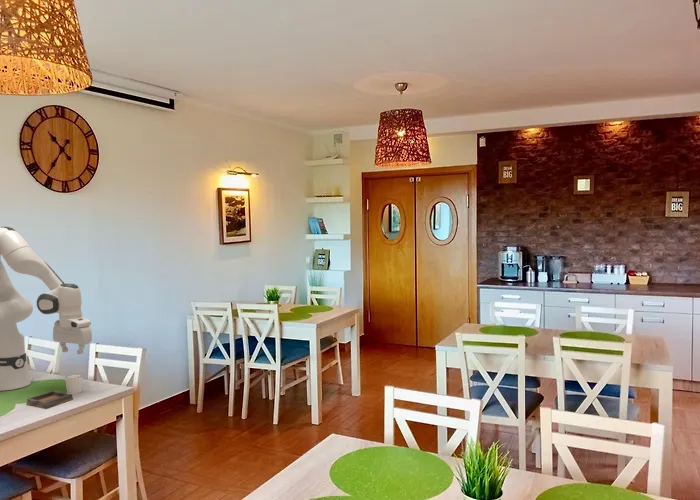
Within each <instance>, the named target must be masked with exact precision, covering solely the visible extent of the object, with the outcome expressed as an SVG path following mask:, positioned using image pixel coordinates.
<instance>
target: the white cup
mask: <svg viewBox="0 0 700 500" xmlns="http://www.w3.org/2000/svg"><path fill="white" fill-rule="evenodd" d="M64 380H65V388H66V393H69V394H72V395H76V393H77V394H80V393H82V391H83V390H82V389H83V374H79V373H78V374H77V373H75V374H70V375H66V376H65V377H64Z"/></svg>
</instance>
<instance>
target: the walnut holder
mask: <svg viewBox="0 0 700 500" xmlns="http://www.w3.org/2000/svg"><path fill="white" fill-rule="evenodd" d="M72 400H74V397H73V394H69V393H67V392H61V391H57V390H50V391H47V392H45V393H41V394H39V395H36V396H32V397H30V398H27V399H26V401H27V402H26V406H29V407H35V408H40V409H45V410H47V409H51V408H53V407H56V406H58V405H61V404H64V403H66V402H69V401H72Z"/></svg>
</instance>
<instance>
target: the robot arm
mask: <svg viewBox="0 0 700 500" xmlns="http://www.w3.org/2000/svg"><path fill="white" fill-rule="evenodd" d="M1 256H2V258H3V259H4V261H5V262H6V264H7V266H9V268H10V269H11V270H13V271H14V272H15V273H18V274H21V275H29V276H33V277H35V278H38V279H39V280H41V281H42V282H43V283H44V284H45V286H46V287H47V288H48V289H49V291H47V292H44V293H41V294H40V295H38V297H37V299H36V307H37V310H38V311H39V312H40V313H41V314H43V315H53V314H57V313H58V317H59V318H58V319H57V320H56V321H55V322H54V323H53V324H54V326H53V327H52V328H53V329H52V339H53V342H56V343H58V342H59V345H60V348H61V352H62V353H68V352H69V347H67V344H74V345H78V346H77V347H78V350H77V351H76V352H77V353H76V354H77V355H83V354H84V349H85V346H86V345H89V344H91V343H92V338H93V337H92V336H93V335H92V334H93V333H92V328H91V325H92V322H91V320H90V319H88V318H87V317H85V316H84V315H83V312H82V304H83V303H82V293H81V290H80V287H79V286H78V285H77V284H75V283H64V281H63V280H62V279H61V277H60V276H59V275H58V274H57V273H56V272H55V271H54V269H53V268H52V267H51V266H50V265H49V264H48V263H47V262H46V261H44V260H43V259H41V257H40V256H39V255H37V254H36V252H35V251H34V250H33V248H32V246H30V244H29V243H28V242H27V241H26V239H25V238H24V237H23V236H22V235H21V234H20V233H19V232H17V231H16V229H14V228H13V227H10V226H1V227H0V392H1V391H11V390H12V391H13V390H17V389H20V388H24V387H27V386H29V385H30V384H31V383H32V382H33V381H34V378H33V377H31V372H30V371H31V370H30V366H29V363H27V358H28V356H27V353H26V350H25V349H26V348H25V347H26V345H25V336H24V335H23V334H22V333H20V331H19V329H18V325H17V323H20V322H22V321H25V320H26V319H28V318H29V317H30V316H32V314H33V311H34V307H33V304H32V302H31V301H30V300H28V299H27V298H25V297H24V296H22V295H21V294H20V292H19V291H18V290H17V288H16V287H15V286H14V285H13V283H12V282H11V279H10V277H9V274H8V273H7V270H6V268H5V266H4V264H3V262H2V260H1V259H2V258H1Z"/></svg>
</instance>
